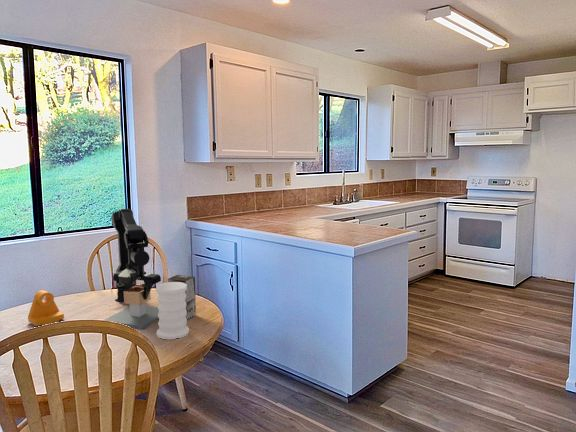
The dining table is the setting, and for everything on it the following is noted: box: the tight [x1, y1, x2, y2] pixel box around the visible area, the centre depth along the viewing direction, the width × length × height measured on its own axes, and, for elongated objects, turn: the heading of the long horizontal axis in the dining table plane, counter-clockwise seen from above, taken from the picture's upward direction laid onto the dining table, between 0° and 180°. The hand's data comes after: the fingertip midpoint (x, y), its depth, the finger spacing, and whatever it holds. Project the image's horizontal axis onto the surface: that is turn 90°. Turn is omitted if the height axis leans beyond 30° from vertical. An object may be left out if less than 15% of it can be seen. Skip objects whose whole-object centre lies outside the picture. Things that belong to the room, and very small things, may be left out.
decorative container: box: [155, 281, 190, 340], centre depth 162 cm, size 12×12×18 cm
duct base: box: [104, 302, 159, 330], centre depth 179 cm, size 20×18×7 cm
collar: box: [123, 285, 152, 305], centre depth 178 cm, size 7×7×5 cm
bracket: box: [27, 289, 65, 327], centre depth 174 cm, size 11×7×12 cm, turn 139°
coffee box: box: [167, 274, 197, 320], centre depth 180 cm, size 9×6×16 cm
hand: (137, 298), depth 178 cm, fingers closed on collar, 7 cm apart
